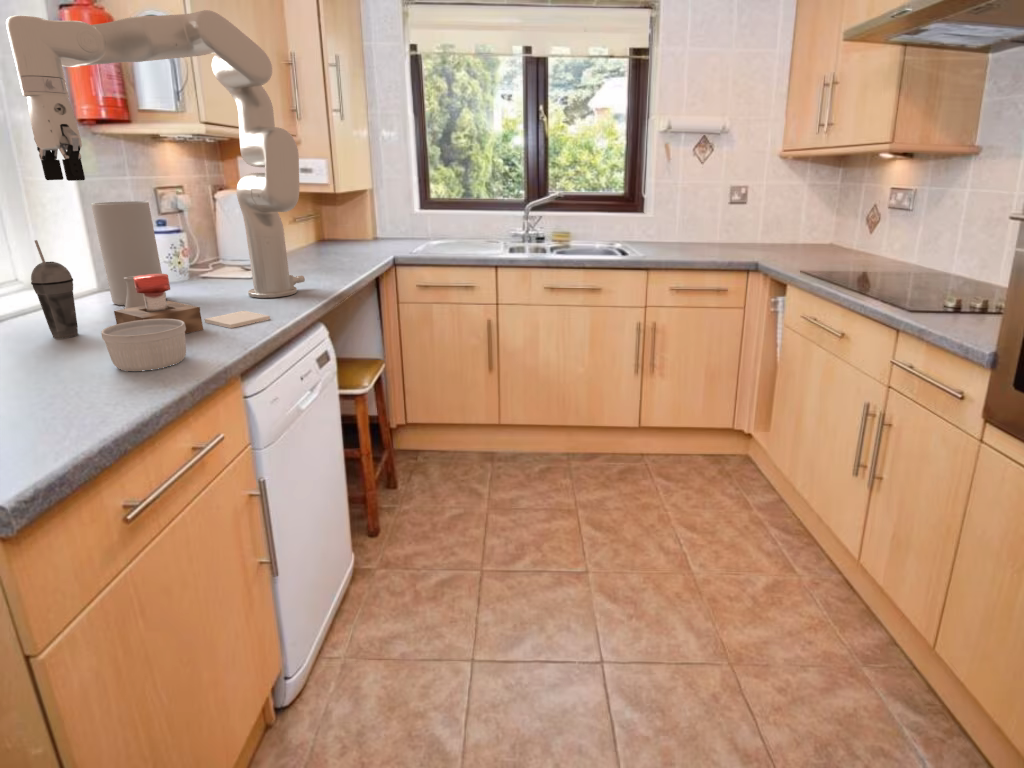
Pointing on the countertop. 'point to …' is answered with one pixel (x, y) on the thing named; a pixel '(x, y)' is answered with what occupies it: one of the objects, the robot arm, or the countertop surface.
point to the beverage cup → (55, 297)
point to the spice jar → (153, 290)
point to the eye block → (164, 315)
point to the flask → (133, 294)
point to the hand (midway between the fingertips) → (65, 180)
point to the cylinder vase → (126, 243)
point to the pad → (237, 319)
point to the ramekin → (146, 343)
